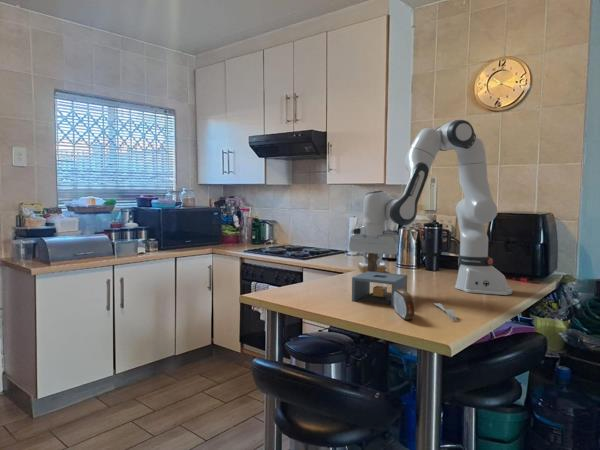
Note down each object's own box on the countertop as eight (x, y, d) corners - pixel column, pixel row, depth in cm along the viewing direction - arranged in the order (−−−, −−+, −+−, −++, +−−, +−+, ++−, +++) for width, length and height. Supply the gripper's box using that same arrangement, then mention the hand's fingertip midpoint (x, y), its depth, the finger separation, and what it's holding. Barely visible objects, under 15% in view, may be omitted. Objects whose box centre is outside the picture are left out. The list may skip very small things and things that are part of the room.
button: (386, 294, 169) (386, 287, 169) (383, 296, 166) (383, 288, 166) (376, 293, 171) (376, 285, 171) (372, 295, 168) (373, 287, 168)
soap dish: (381, 271, 234) (381, 261, 234) (386, 274, 224) (386, 264, 224) (357, 271, 233) (357, 262, 232) (362, 275, 223) (362, 265, 222)
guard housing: (406, 298, 172) (407, 275, 171) (394, 307, 158) (394, 281, 157) (367, 293, 180) (367, 271, 179) (351, 301, 166) (352, 277, 165)
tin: (414, 322, 139) (415, 296, 138) (405, 323, 139) (405, 296, 138) (400, 310, 154) (401, 286, 153) (391, 310, 154) (391, 286, 153)
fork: (440, 310, 161) (440, 303, 161) (458, 321, 140) (458, 312, 140) (432, 310, 161) (432, 302, 161) (449, 321, 140) (449, 312, 140)
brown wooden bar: (376, 277, 185) (377, 243, 184) (374, 278, 182) (375, 243, 181) (369, 276, 186) (370, 242, 186) (367, 277, 184) (368, 243, 183)
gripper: (400, 231, 181) (399, 265, 182) (353, 228, 191) (352, 261, 192) (396, 232, 175) (394, 267, 176) (347, 229, 185) (346, 262, 186)
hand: (372, 264), depth 184 cm, fingers closed on brown wooden bar, 3 cm apart
